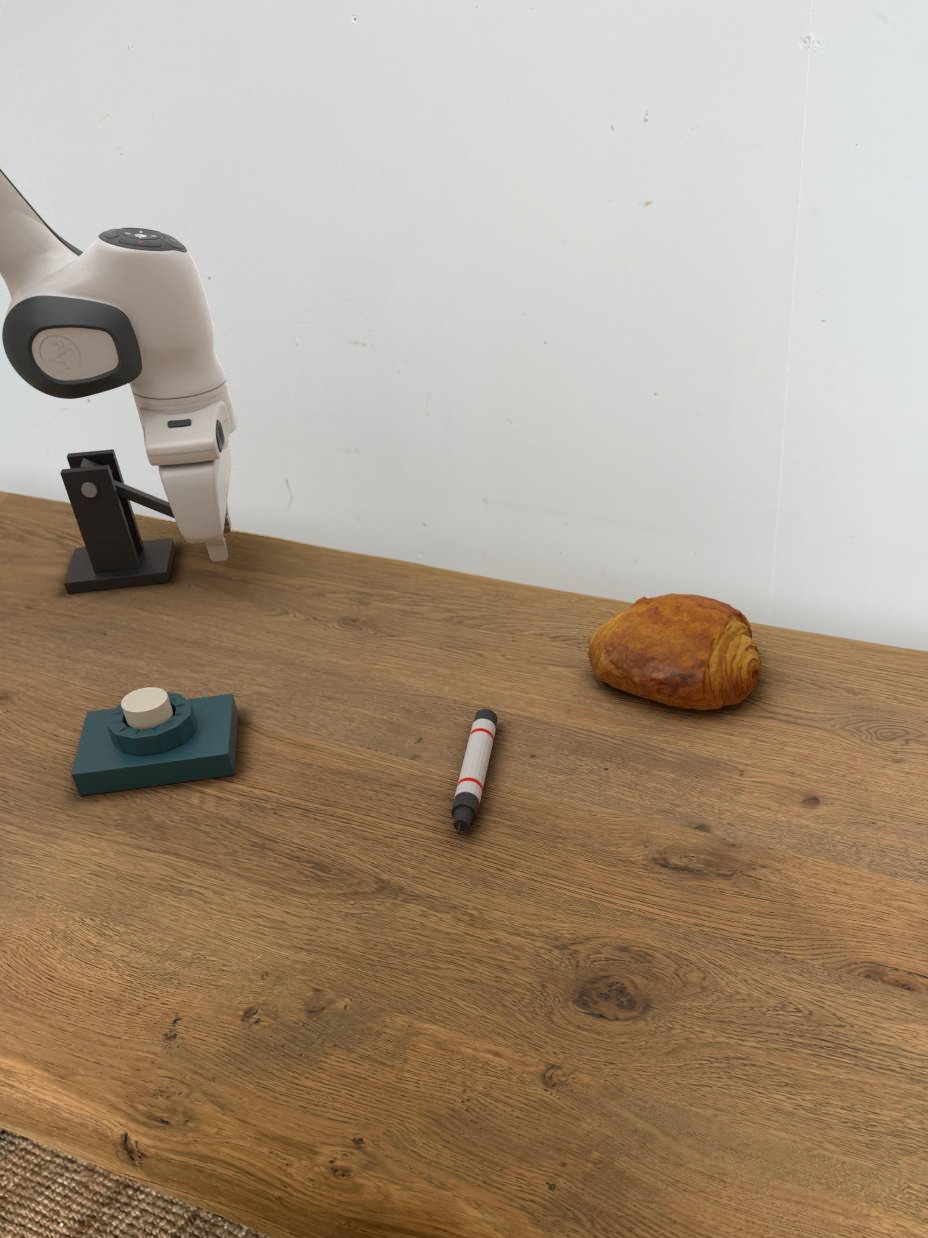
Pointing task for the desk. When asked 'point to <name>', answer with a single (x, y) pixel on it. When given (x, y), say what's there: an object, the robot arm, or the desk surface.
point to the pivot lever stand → (109, 531)
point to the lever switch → (137, 494)
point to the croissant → (678, 652)
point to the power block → (157, 746)
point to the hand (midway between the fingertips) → (221, 544)
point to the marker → (474, 770)
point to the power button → (147, 708)
